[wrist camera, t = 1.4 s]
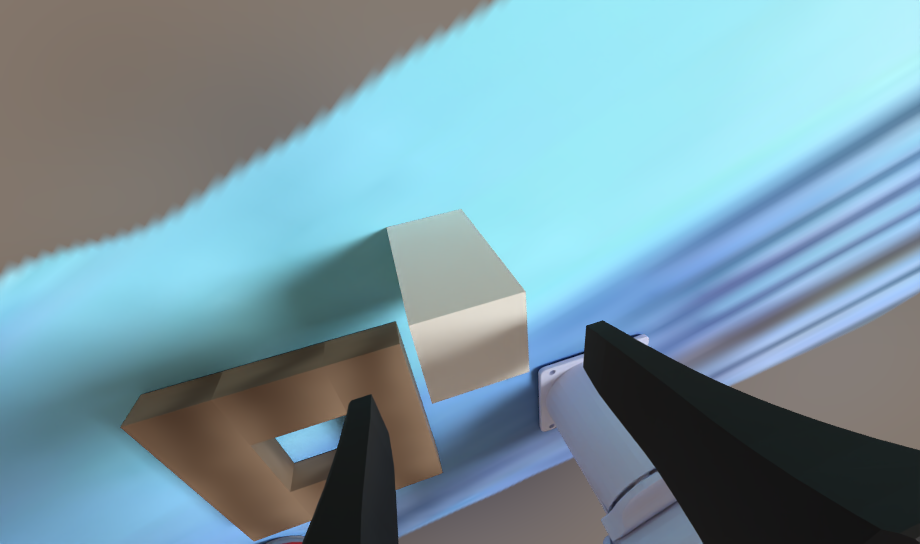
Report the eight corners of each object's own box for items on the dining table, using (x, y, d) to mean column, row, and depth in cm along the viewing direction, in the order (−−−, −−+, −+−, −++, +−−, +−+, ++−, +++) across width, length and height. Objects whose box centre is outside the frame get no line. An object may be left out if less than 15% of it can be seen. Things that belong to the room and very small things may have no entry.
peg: (461, 209, 18) (525, 291, 11) (470, 271, 20) (529, 371, 14) (386, 227, 17) (408, 325, 11) (404, 289, 20) (432, 403, 13)
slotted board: (395, 321, 21) (399, 343, 19) (437, 449, 28) (442, 473, 26) (140, 394, 18) (120, 427, 17) (260, 511, 26) (253, 541, 24)
